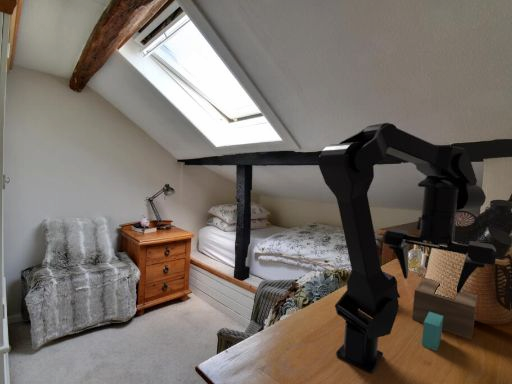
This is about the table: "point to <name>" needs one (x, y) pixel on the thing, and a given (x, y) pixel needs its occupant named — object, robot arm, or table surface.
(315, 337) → the table surface
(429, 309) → the wooden box
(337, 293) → the table surface
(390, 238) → the robot arm
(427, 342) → the teal block
